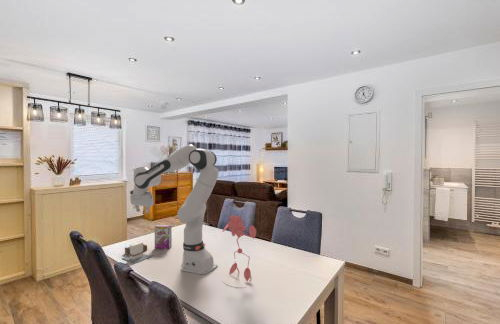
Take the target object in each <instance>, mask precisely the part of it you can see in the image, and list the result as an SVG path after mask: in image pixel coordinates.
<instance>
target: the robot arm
mask: <svg viewBox="0 0 500 324" xmlns="http://www.w3.org/2000/svg"><path fill="white" fill-rule="evenodd" d="M217 159H218V158H217V155H216V154H215V153H214V152H213V151H211V150H208V149H203V148H197V147H196V146H195V145H194V144H187V145H185V146H183V147H181V148H179V149H178V150H176V151H175V152H173V153H171V155H169V156H168V157H167V158H165V159H163V160H162V161H160V162H159V163H157V164H155V165H154V166H152V167H150V168H148V167H146V166H140V167H139V166H138V167H137V168H134V171H133V183H134V185H133V189H132V190H130V191H129V195H130V199H129V200H130V205H133V206H134V207H135V210H136V211H135V212H138V213H139V212H141V209H140V206H141V207H145V208H146V209H145V210H144V213H146V214H149V213H150V208H151V207H153V206H154V204H155V202H154V195H153V194H152V192H151V191H149V189H150V188H152V187H157V186H159V185H160V184H161V183H162V174H164V173H169V172H174V171H179V170H182V169H184V168H185V167H187V166H188V165H192V166H193V167H194V168H195V169H196V170H197V171H200V172H199V175H198V177H197V179H196V182H195V184H194V186H193V188H192V190H191V191H190V193H189V194H188V196H187V197H186V199H185V200H184V202H183V204H182V205H181V207H180V208H179V209H178V210H177V218H178V219H179V221H180V222H182V223H184V224H185V226H184V227H183V243H182V248H183V252H182V253H183V254H182V262H181V267H180V270H181V271H182V272H187V273H192V274H198V275H205V274H208V273H210V272H213V271H214V270H215V269H217V268H218V263H217V262H215V261H214V257H213V255H212V254H211V252H209V250H208V249H206V244H207V243H204V241H203V226H204V219H205V213H206V211H207V205H206V202H207V201H208V200H209V197H210V196H211V194H212V193H213V189H214V187H215V185H216V183H217V180H218V177H219V169H218V168H217V167H216V166H215V165H216V163H217V161H218V160H217Z"/></svg>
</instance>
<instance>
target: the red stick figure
mask: <svg viewBox="0 0 500 324" xmlns="http://www.w3.org/2000/svg"><path fill="white" fill-rule="evenodd" d="M227 229H228V230H229V231H231V232H230V233H231V235H232V237H235V236H237V237H236V243H237V246H238V249H237V250H236V251H234V252H233V253H234V255H233V256H234V258H236V253H238V254H240V255H241V254H243V255H245V256H246V257H248V263H247V267H246V268H245V269H244V271H243V278H244V279H245V281H246V282H248V281H249V280H250V278H252V276H251V275H252V274H251V269H250V268H249V264H250V258H251V257H250V256H249V255H247V254H245V253H243V248H240V245H239V239H240V238H241V237H243V236H247V237H249V238H252V239H253V240H254V239H256V236H257V228H256V227H255V226H254V225H253V224H251V225H250V226H249V229H248V233H249V235H248V234H245V231H246V226H244V221H243V220H242V217H241V215H238V216H236V215H235V214H232V215H230V216H229V220H228V221H227V224H226V225H225V227H223V229H222V233H223V232H225V231H226V230H227ZM236 270H237V272H238V273H240V270H239V268H238V263H237V262H234V263H233V264H232V265H231V267H230V268H229V273H228V274H229V275H231V274H234V272H235V271H236ZM225 286H227V287H231V288H232V287H233V286H232V285H229V284H227V283H225ZM235 288H236V289H242V288H243V289H244V288H246V287H245V286H244V287H239V286H238V287H236V286H235Z"/></svg>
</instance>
